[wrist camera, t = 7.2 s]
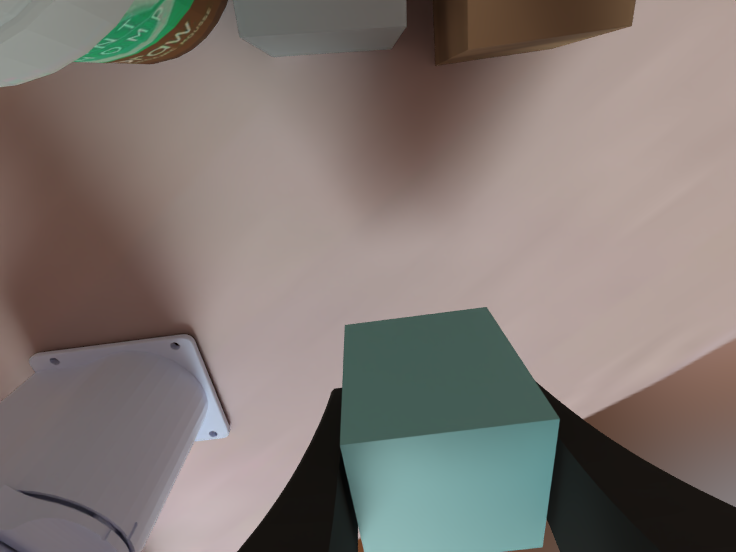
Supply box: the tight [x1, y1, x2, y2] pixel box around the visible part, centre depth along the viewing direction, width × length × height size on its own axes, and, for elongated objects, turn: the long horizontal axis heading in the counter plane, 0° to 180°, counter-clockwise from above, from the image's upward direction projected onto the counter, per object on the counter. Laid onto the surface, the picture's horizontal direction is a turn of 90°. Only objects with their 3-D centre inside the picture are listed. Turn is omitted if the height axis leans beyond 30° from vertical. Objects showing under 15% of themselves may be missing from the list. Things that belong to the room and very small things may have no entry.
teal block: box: [340, 307, 560, 552], centre depth 12 cm, size 5×5×5 cm
